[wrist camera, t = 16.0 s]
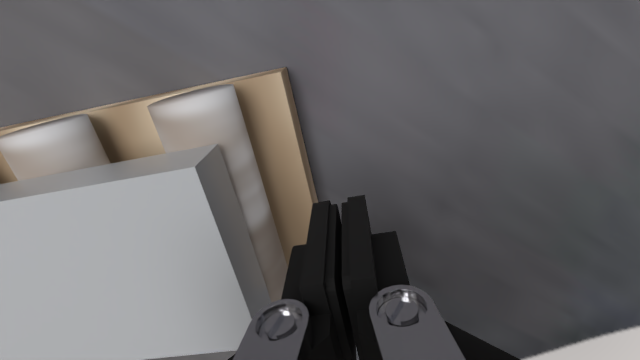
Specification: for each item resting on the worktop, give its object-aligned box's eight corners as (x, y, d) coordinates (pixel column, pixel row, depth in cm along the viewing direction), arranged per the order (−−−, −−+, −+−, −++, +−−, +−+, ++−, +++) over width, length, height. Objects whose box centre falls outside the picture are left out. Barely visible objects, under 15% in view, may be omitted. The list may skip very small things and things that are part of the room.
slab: (218, 143, 12) (194, 166, 10) (272, 305, 14) (262, 347, 13) (-169, 215, 14) (-246, 245, 12) (-57, 344, 17) (-106, 384, 15)
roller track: (286, 66, 15) (264, 85, 11) (331, 260, 19) (328, 328, 15) (-213, 172, 19) (-371, 216, 14) (-88, 315, 22) (-184, 381, 18)
